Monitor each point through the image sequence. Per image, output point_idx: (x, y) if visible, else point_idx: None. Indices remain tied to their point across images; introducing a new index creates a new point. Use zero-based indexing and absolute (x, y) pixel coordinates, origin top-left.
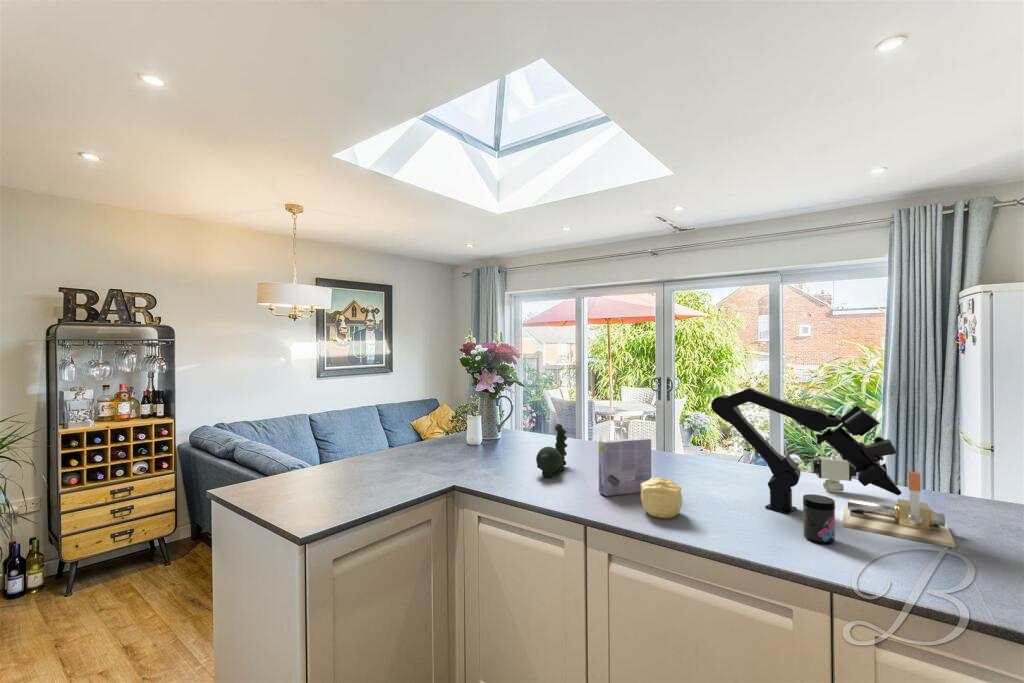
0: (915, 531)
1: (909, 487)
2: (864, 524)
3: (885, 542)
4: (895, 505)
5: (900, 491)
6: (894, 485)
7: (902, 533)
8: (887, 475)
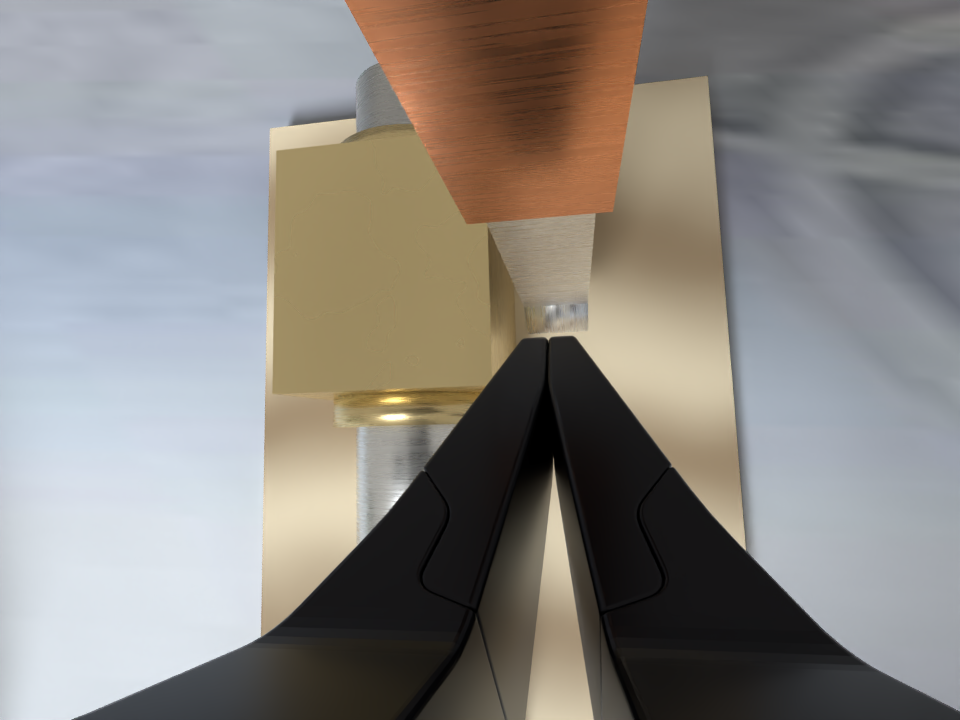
0: (597, 297)
1: (616, 183)
2: None
3: (939, 495)
4: (427, 417)
5: (560, 345)
6: (643, 427)
7: (721, 379)
8: (481, 594)
